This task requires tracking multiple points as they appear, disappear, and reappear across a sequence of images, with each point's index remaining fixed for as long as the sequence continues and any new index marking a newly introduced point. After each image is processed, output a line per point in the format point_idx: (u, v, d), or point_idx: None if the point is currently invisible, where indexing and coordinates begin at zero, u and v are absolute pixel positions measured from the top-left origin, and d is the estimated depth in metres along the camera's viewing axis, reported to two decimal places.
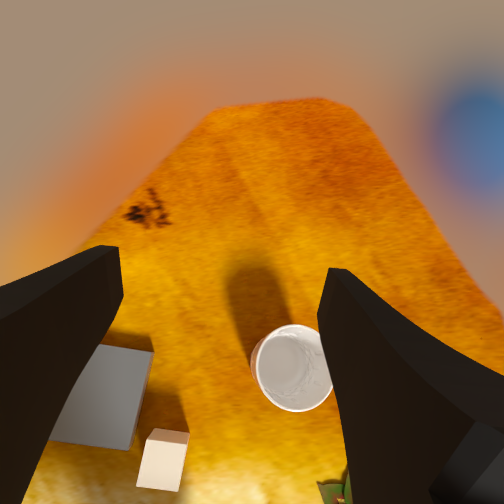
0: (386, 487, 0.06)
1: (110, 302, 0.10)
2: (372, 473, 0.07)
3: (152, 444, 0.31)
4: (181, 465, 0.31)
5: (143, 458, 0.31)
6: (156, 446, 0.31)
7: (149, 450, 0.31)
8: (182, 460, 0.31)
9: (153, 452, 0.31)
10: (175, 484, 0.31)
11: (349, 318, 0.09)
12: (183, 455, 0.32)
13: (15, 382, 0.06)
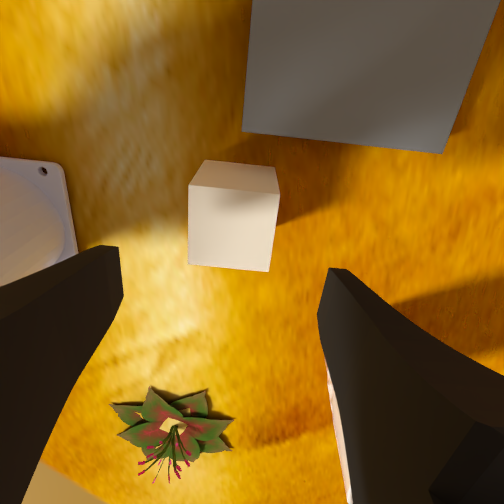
0: (385, 486, 0.06)
1: (110, 302, 0.10)
2: (372, 473, 0.07)
3: (269, 208, 0.14)
4: (232, 266, 0.16)
5: (242, 193, 0.14)
6: (265, 216, 0.14)
7: (257, 203, 0.14)
8: (240, 267, 0.16)
9: (254, 212, 0.14)
10: (199, 259, 0.15)
11: (349, 318, 0.09)
12: (249, 267, 0.16)
13: (15, 382, 0.06)
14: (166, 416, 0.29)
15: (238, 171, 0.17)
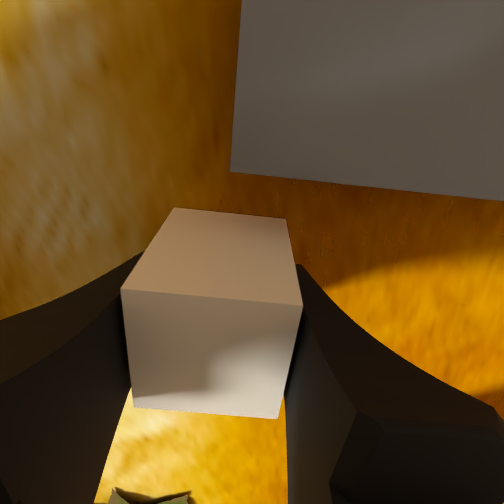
0: (306, 480, 0.06)
1: None
2: (300, 468, 0.07)
3: (281, 327, 0.07)
4: (212, 411, 0.09)
5: (227, 303, 0.07)
6: (273, 340, 0.08)
7: (259, 320, 0.07)
8: (228, 412, 0.09)
9: (251, 333, 0.07)
10: (153, 401, 0.09)
11: None
12: (243, 413, 0.09)
13: (92, 388, 0.06)
14: None
15: (225, 235, 0.10)
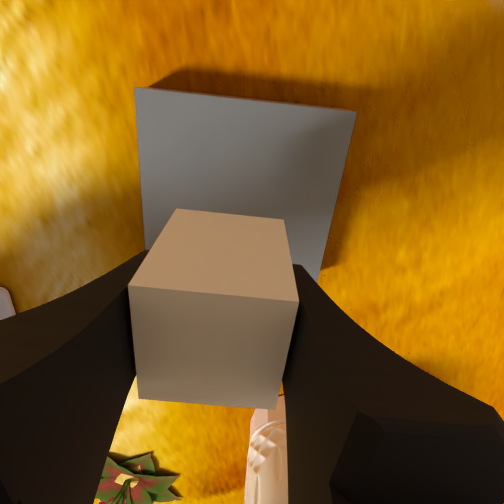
0: (306, 480, 0.06)
1: None
2: (300, 468, 0.07)
3: (278, 322, 0.08)
4: (214, 402, 0.09)
5: (228, 299, 0.07)
6: (271, 334, 0.08)
7: (257, 315, 0.08)
8: (228, 403, 0.09)
9: (250, 327, 0.08)
10: (157, 392, 0.09)
11: None
12: (243, 404, 0.09)
13: (92, 388, 0.06)
14: (119, 472, 0.32)
15: (226, 235, 0.10)
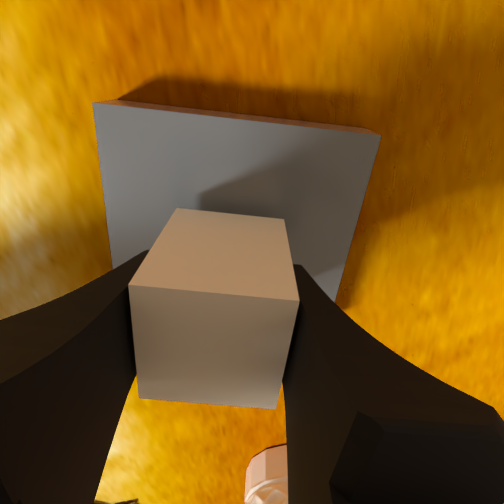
0: (306, 480, 0.06)
1: None
2: (299, 467, 0.07)
3: (279, 321, 0.08)
4: (214, 401, 0.09)
5: (229, 298, 0.07)
6: (271, 334, 0.08)
7: (258, 314, 0.08)
8: (229, 402, 0.09)
9: (251, 327, 0.08)
10: (158, 391, 0.09)
11: None
12: (243, 403, 0.09)
13: (92, 388, 0.06)
14: None
15: (226, 235, 0.10)
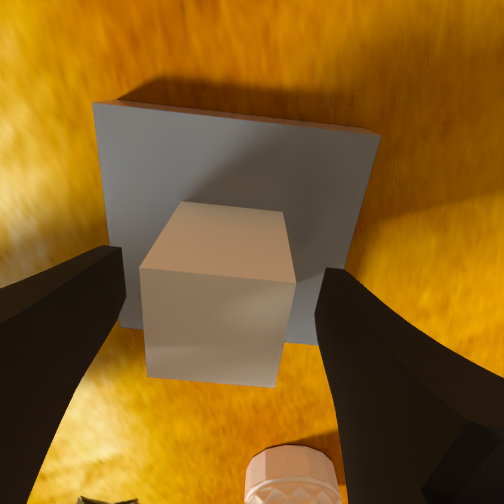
0: (380, 486, 0.06)
1: (113, 302, 0.10)
2: (367, 473, 0.07)
3: (277, 302, 0.08)
4: (217, 380, 0.10)
5: (231, 280, 0.08)
6: (271, 314, 0.09)
7: (258, 296, 0.08)
8: (230, 381, 0.10)
9: (251, 308, 0.09)
10: (164, 370, 0.10)
11: (345, 318, 0.09)
12: (244, 382, 0.10)
13: (21, 382, 0.06)
14: None
15: (228, 225, 0.11)
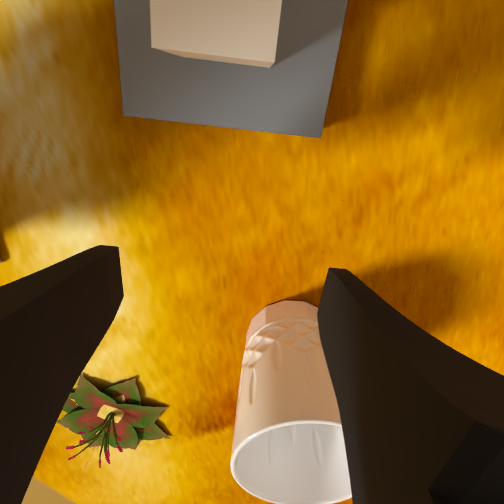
0: (385, 486, 0.06)
1: (110, 302, 0.10)
2: (372, 473, 0.07)
3: None
4: (219, 50, 0.10)
5: None
6: None
7: None
8: (232, 52, 0.10)
9: None
10: (168, 36, 0.10)
11: (349, 318, 0.09)
12: (245, 54, 0.10)
13: (15, 382, 0.06)
14: (101, 403, 0.30)
15: None
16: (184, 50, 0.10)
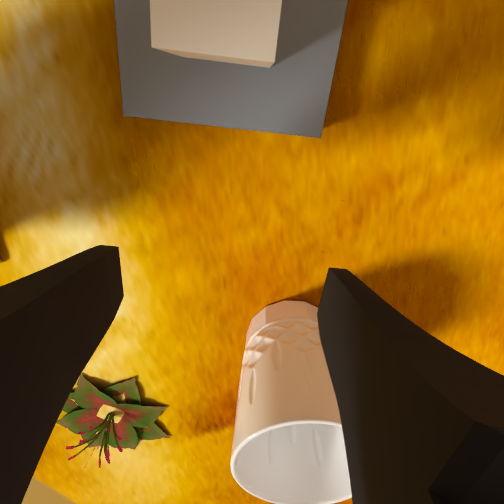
0: (385, 486, 0.06)
1: (110, 302, 0.10)
2: (372, 473, 0.07)
3: None
4: (219, 50, 0.10)
5: None
6: None
7: None
8: (232, 52, 0.10)
9: None
10: (168, 36, 0.10)
11: (349, 318, 0.09)
12: (245, 54, 0.10)
13: (15, 382, 0.06)
14: (101, 403, 0.30)
15: None
16: (184, 50, 0.10)
